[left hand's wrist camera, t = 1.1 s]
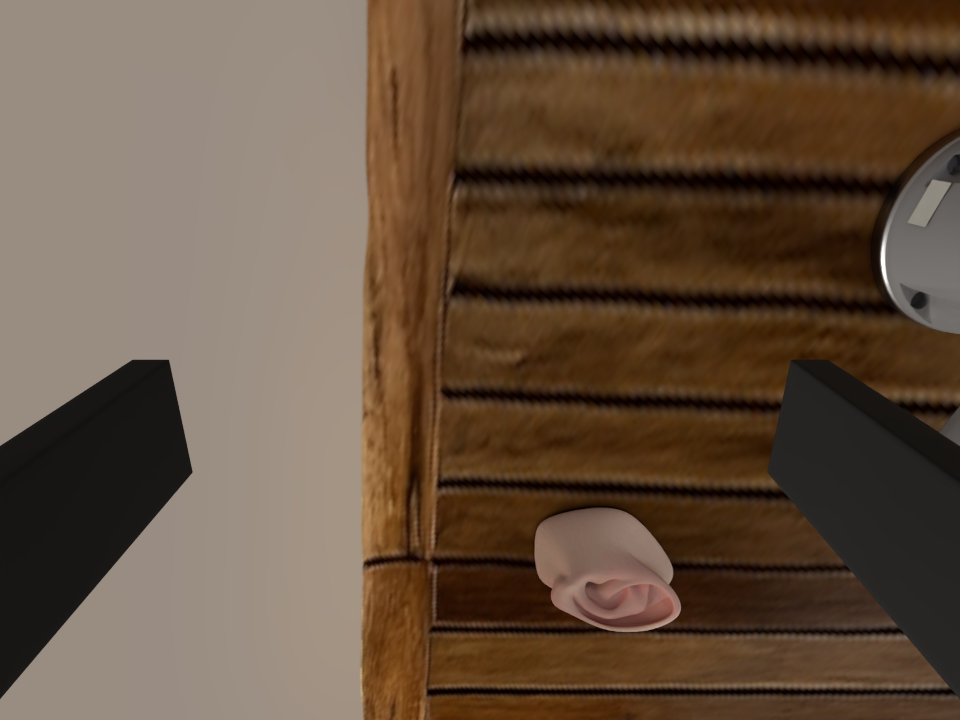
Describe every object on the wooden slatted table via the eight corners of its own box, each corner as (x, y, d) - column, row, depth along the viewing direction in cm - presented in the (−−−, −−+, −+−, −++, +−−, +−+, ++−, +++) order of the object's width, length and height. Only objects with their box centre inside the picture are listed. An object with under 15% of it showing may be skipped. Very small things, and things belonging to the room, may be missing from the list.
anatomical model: (515, 562, 49) (641, 509, 47) (512, 532, 53) (629, 481, 51) (579, 664, 53) (697, 619, 51) (572, 630, 57) (682, 586, 55)
